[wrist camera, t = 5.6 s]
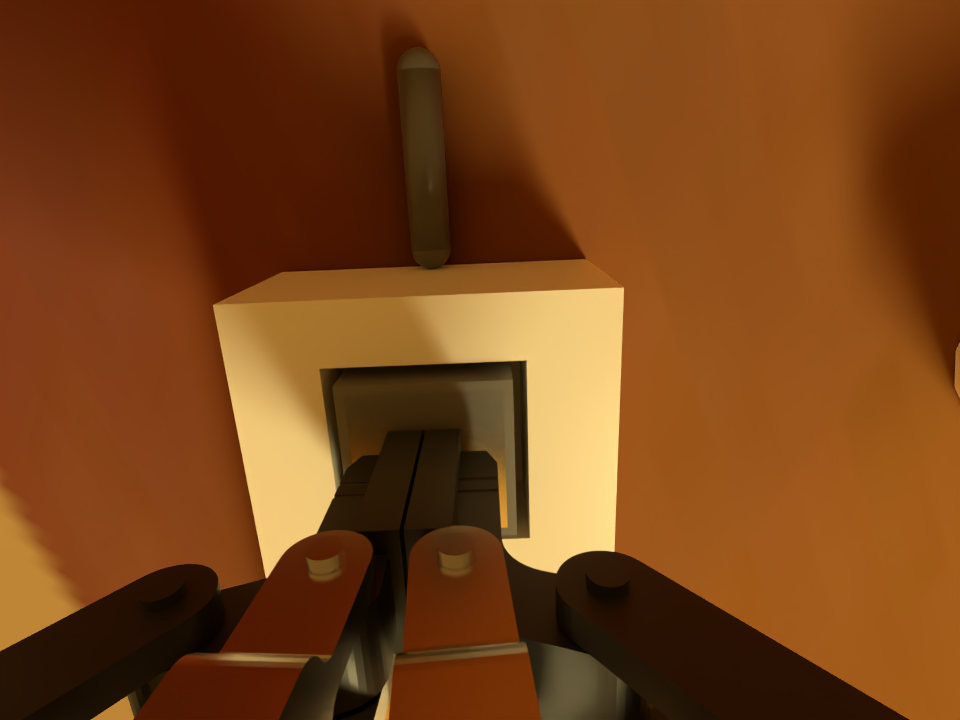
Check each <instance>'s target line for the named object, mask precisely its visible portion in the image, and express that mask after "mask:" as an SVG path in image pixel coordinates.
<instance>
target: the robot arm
mask: <svg viewBox="0 0 960 720" xmlns="http://www.w3.org/2000/svg"><path fill="white" fill-rule="evenodd" d="M394 654H396V656H395V660H394V667H393V677H392V689H391V700H390V711H389V720H909V719H907V718H905V717H904V716H902V715H900V714H899V713H897V712H895V711H894V710H892V709H890V708H888V707H887V706H885V705H883V704H882V703H880V702H878V701H877V700H875V699H873V698H871V697H870V696H868V695H866V694H865V693H863V692H861V691H860V690H858V689H856V688H854V687H853V686H851V685H849V684H848V683H846V682H844V681H843V680H841V679H839V678H837V677H836V676H834V675H832V674H831V673H829V672H827V671H826V670H824V669H822V668H820V667H819V666H817V665H815V664H814V663H812V662H810V661H809V660H807V659H805V658H803V657H802V656H800V655H798V654H797V653H795V652H793V651H792V650H790V649H788V648H786V647H785V646H783V645H781V644H780V643H778V642H776V641H775V640H773V639H771V638H769V637H768V636H766V635H764V634H763V633H761V632H759V631H757V630H756V629H754V628H752V627H751V626H749V625H747V624H746V623H744V622H742V621H740V620H739V619H737V618H735V617H734V616H732V615H730V614H729V613H727V612H725V611H723V610H722V609H720V608H718V607H717V606H715V605H713V604H712V603H710V602H708V601H706V600H705V599H703V598H701V597H700V596H698V595H696V594H695V593H693V592H691V591H689V590H688V589H686V588H684V587H683V586H681V585H679V584H678V583H676V582H674V581H672V580H671V579H669V578H667V577H666V576H664V575H662V574H661V573H659V572H657V571H655V570H654V569H652V568H650V567H649V566H647V565H645V564H644V563H642V562H640V561H638V560H636V559H634V558H632V557H630V556H627V555H625V554H621V553H617V552H611V551H589V552H583V553H580V554H577V555H575V556H573V557H571V558H569V559H568V560H566V561H565V562H564V563H563V564H562V565H561V566H560V567H559V569H558V571H557V573H552V572H547V571H542V570H538V569H534V568H532V567H529V566H526V565H524V564H522V563H520V562H519V561H517V560H516V559H514V558H513V557H512V556H511V555H510V554H509V553H508V552H507V550H506V549H505V547H504V545H503V542H502V534H501V517H500V500H499V483H498V466H497V462H496V461H495V459H494V458H493V457H492V456H491V455H490V454H489V453H488V452H487V451H462V435H461V429H460V428H459V429H433V430H426V431H425V433H424V430H411V431H388V433H387V435H386V438H385V441H384V443H383V446H382V449H381V451H380V454H379V455H363V456H361V457H360V458H359V459H358V460H357V461H355V462H354V463H353V464H352V465H350V466H349V467H348V468H347V469H346V471H345V473H344V475H343V478H342V480H341V482H340V486H338V488H337V491H336V493H335V495H334V498H333V499H332V501H331V503H330V506H329V508H328V510H327V512H326V514H325V516H324V519H323V521H322V523H321V525H320V527H319V529H318V532H317V534H314V535H311V536H308V537H306V538H304V539H302V540H300V541H298V542H297V543H295V544H294V545H292V546H291V547H290V548H289V549H288V550H286V551H285V552H284V554H283V555H282V556H281V558H280V559H279V561H278V562H277V564H276V565H275V567H274V568H273V570H272V572H271V573H270V575H269V576H268V578H266V579H262V580H259V581H255V582H251V583H247V584H243V585H239V586H235V587H231V588H227V589H223V590H221V589H220V585H219V580H218V577H217V575H216V573H215V572H214V571H213V570H212V569H210V568H209V567H206V566H203V565H197V564H184V565H176V566H172V567H168V568H164V569H161V570H158V571H155V572H153V573H150V574H148V575H146V576H144V577H142V578H140V579H138V580H136V581H134V582H132V583H130V584H128V585H126V586H125V587H123V588H121V589H119V590H117V591H115V592H113V593H111V594H109V595H107V596H105V597H103V598H102V599H100V600H98V601H96V602H94V603H92V604H90V605H88V606H86V607H84V608H82V609H80V610H79V611H77V612H75V613H73V614H71V615H69V616H67V617H65V618H63V619H61V620H59V621H57V622H56V623H54V624H52V625H50V626H48V627H46V628H44V629H42V630H40V631H38V632H37V633H35V634H33V635H31V636H29V637H27V638H25V639H23V640H21V641H19V642H17V643H15V644H13V645H11V646H10V647H8V648H6V649H4V650H2V651H0V720H91V719H92V718H94V717H95V716H97V715H98V714H100V713H101V712H103V711H104V710H106V709H108V708H109V707H110V706H112V705H114V704H115V703H117V702H118V701H120V700H121V699H123V698H124V697H126V696H128V699H129V702H130V705H131V709H132V712H133V715H134V720H384V719H385V715H386V711H387V707H388V704H389V698H390V687H389V679H388V678H389V675H390V671H391V666H392V660H393V655H394Z"/></svg>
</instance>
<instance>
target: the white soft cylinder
mask: <svg viewBox="0 0 960 720" xmlns="http://www.w3.org/2000/svg"><path fill="white" fill-rule="evenodd" d="M954 387H955V390H956V392H957V394H958V396H959V398H960V343H959V345H958V347H957V349H956V358H955V383H954Z"/></svg>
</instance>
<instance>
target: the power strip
mask: <svg viewBox="0 0 960 720" xmlns="http://www.w3.org/2000/svg"><path fill="white" fill-rule="evenodd" d="M397 84H398V96H399V109H400V121H401V134H402V146H403V158H404V171H405V183H406V196H407V208H408V221H409V233H410V245H411V253H412V256H413V258H414V260H415V261H416V262H417V263H418V264H419V265H420V266H413V267H390V268H367V269H343V270H320V271H297V272H281V273H279V274H277V275H275V276H273V277H271V278H269V279H267V280H264V281H262V282H260V283H258V284H256V285H254V286H252V287H250V288H248V289H245V290H243V291H241V292H239V293H237V294H235V295H233V296H231V297H228V298H226V299H224V300H222V301H220V302H218V303H216V304H214V305H213V308H214V313H215V318H216V324H217V329H218V334H219V339H220V344H221V349H222V354H223V360H224V365H225V370H226V375H227V380H228V385H229V390H230V396H231V401H232V406H233V411H234V416H235V421H236V426H237V432H238V437H239V442H240V447H241V452H242V457H243V462H244V468H245V473H246V478H247V483H248V488H249V493H250V498H251V504H252V509H253V514H254V519H255V524H256V529H257V534H258V540H259V545H260V550H261V555H262V560H263V565H264V570H265V576H266V578H268V576H269V575H270V573H271V572H272V570H273V568H274V567H275V565H276V564H277V562H278V561H279V559H280V558H281V556H282V555H283V554H284V552H285V551H286V550H288V549H289V548H290V547H291V546H292V545H294V544H295V543H297V542H298V541H300V540H302V539H304V538H306V537H308V536H311V535H314V534H317V532H318V529H319V527H320V525H321V523H322V521H323V519H324V516H325V514H326V512H327V510H328V508H329V506H330V503H331V501H332V499H333V498H334V495H335V493H336V491H337V488H338V486H340V482H341V480H342V478H343V475H344V473H343V465H342V458H341V450H340V443H339V435H338V428H337V420H336V413H335V405H334V398H333V390H332V387H333V385H334V384H335V382H336V381H337V380H338V378H339V377H340V375H341V374H342V373H343V371H344V370H345V368H350V367H375V366H400V365H425V364H450V363H474V362H499V361H510V364H511V371H512V377H513V401H514V439H515V477H516V514H517V535H504V536H502V542H503V545H504V547H505V549H506V550H507V552H508V553H509V554H510V555H511V556H512V557H513V558H514V559H516V560H517V561H519V562H520V563H522V564H524V565H526V566H529V567H532V568H534V569H538V570H542V571H547V572H552V573H557V571H558V569H559V567H560V566H561V565H562V564H563V563H564V562H565V561H566V560H568V559H569V558H571V557H573V556H575V555H577V554H580V553H583V552H589V551H611V552H614V544H615V517H616V489H617V462H618V435H619V407H620V380H621V353H622V326H623V298H624V287H623V286H621V285H620V284H619V283H617V282H616V281H615V280H613V279H612V278H611V277H610V276H608V275H607V274H606V273H604V272H603V271H602V270H600V269H599V268H598V267H596V266H595V265H594V264H593V263H591V262H590V261H589V260H587V259H576V260H552V261H529V262H506V263H483V264H459V265H443V264H444V263H445V262H446V261H447V260H448V258H449V256H450V252H451V243H450V226H449V209H448V192H447V175H446V158H445V141H444V124H443V107H442V90H441V73H440V65H439V62H438V60H437V58H436V57H435V56H434V54H433V53H432V52H430V51H429V50H428V49H426V48H423V47H412V48H409V49H408V50H406V51H405V52H404V53H403V54H402V55H401V56H400V58H399V60H398V63H397Z"/></svg>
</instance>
